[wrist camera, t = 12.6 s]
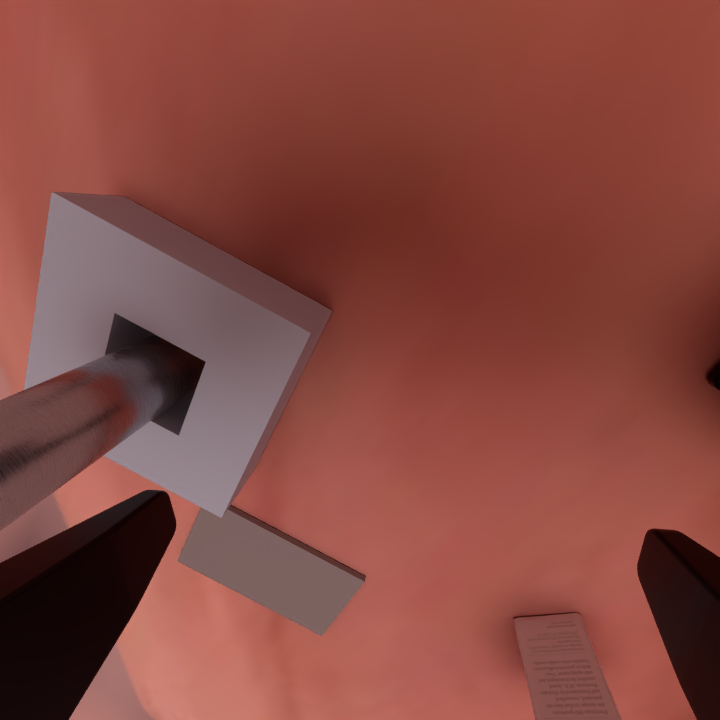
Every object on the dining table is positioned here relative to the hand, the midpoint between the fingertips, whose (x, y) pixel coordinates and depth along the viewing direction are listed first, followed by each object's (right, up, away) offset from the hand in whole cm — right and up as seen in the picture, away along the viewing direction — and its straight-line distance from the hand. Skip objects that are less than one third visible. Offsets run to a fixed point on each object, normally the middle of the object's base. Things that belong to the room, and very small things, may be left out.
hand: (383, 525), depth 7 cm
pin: (-10, +4, +14) cm, 18 cm away
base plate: (-7, -12, +20) cm, 24 cm away
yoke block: (-10, +4, +14) cm, 18 cm away
